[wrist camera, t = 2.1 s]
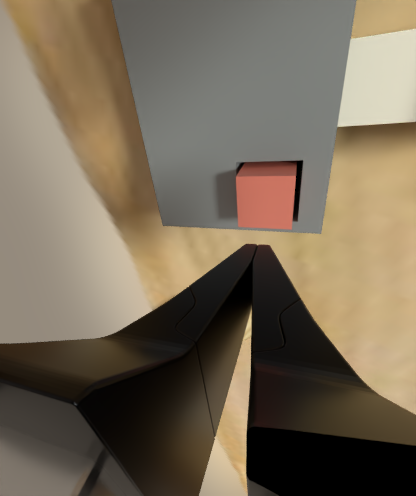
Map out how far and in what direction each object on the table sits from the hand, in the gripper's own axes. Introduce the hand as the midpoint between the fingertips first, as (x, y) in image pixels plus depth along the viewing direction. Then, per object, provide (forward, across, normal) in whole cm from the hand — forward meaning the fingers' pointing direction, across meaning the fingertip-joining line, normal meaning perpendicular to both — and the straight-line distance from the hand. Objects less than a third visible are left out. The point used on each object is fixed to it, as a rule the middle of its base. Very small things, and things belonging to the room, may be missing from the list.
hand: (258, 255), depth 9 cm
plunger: (+9, 0, 0) cm, 9 cm away
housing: (+11, +2, -5) cm, 12 cm away
